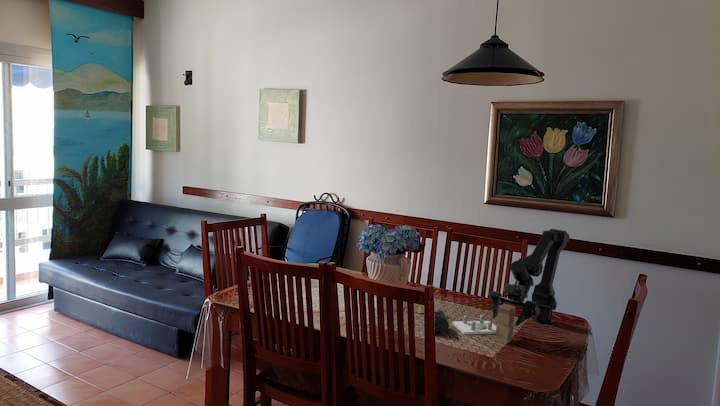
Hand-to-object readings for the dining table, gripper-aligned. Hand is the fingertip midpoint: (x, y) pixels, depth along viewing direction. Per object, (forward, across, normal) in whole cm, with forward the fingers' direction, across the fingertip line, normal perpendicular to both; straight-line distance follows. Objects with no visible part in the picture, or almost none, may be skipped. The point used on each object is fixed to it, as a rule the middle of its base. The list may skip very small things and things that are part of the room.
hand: (504, 321), depth 185 cm
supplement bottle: (+4, -37, +6) cm, 38 cm away
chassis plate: (+3, -13, +8) cm, 15 cm away
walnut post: (+5, 0, +6) cm, 7 cm away
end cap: (+14, -21, -2) cm, 25 cm away
